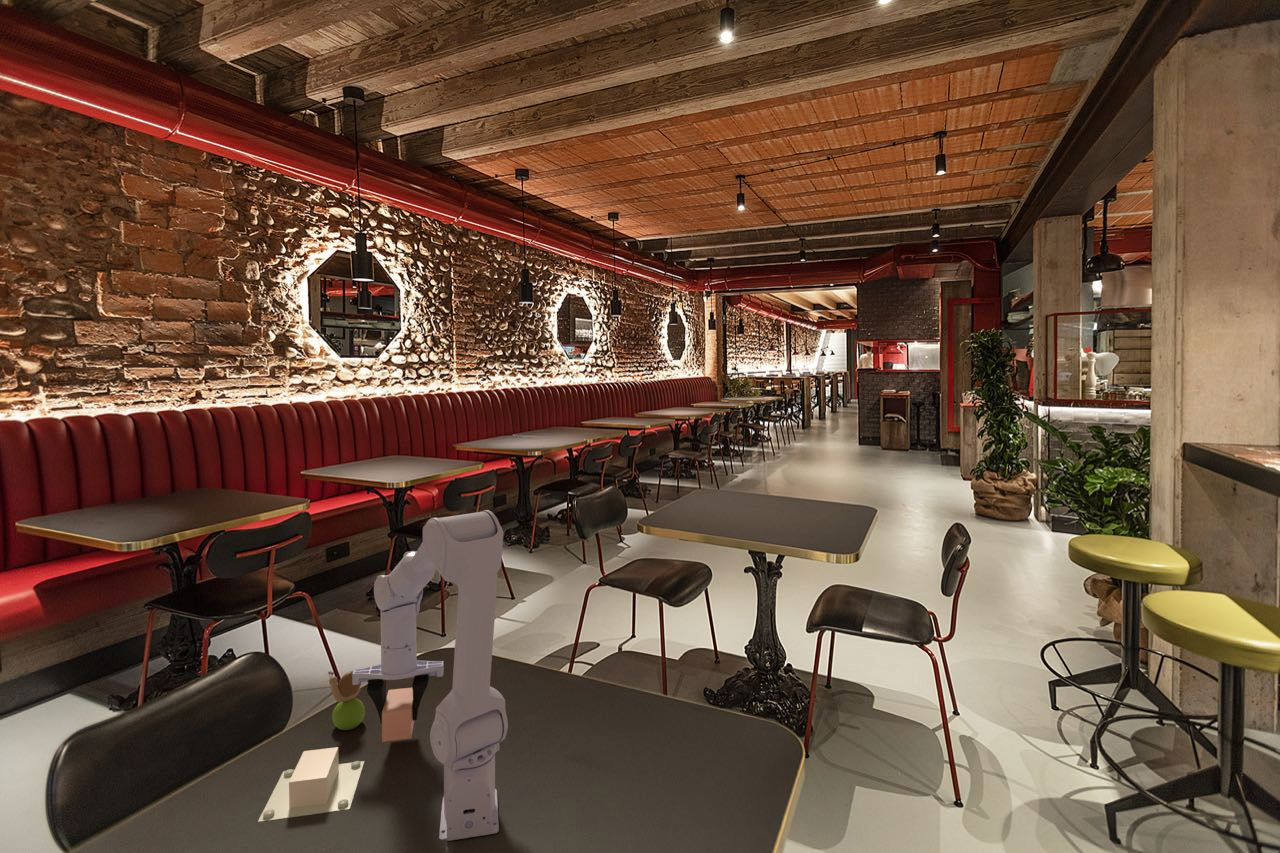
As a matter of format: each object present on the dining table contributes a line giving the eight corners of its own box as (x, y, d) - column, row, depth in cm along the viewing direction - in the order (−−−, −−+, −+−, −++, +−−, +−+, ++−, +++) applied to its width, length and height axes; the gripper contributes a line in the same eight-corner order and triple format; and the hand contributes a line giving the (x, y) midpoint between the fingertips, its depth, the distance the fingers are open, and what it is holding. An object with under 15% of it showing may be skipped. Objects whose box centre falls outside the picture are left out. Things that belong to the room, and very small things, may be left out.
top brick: (410, 738, 104) (410, 709, 104) (382, 741, 103) (381, 712, 103) (415, 714, 112) (415, 687, 112) (388, 717, 111) (388, 689, 111)
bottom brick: (326, 803, 92) (326, 777, 92) (289, 808, 91) (288, 782, 91) (338, 771, 100) (338, 747, 100) (304, 775, 99) (303, 751, 98)
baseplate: (349, 812, 91) (349, 806, 91) (257, 825, 88) (257, 819, 88) (364, 764, 103) (364, 758, 103) (283, 774, 100) (283, 768, 100)
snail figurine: (320, 734, 111) (319, 668, 111) (351, 717, 117) (351, 655, 116) (340, 742, 109) (339, 675, 108) (371, 725, 115) (371, 661, 114)
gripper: (444, 630, 112) (444, 703, 113) (357, 636, 109) (358, 712, 110) (442, 645, 106) (442, 723, 106) (349, 653, 102) (350, 733, 103)
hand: (399, 719), depth 107 cm, fingers closed on top brick, 4 cm apart
